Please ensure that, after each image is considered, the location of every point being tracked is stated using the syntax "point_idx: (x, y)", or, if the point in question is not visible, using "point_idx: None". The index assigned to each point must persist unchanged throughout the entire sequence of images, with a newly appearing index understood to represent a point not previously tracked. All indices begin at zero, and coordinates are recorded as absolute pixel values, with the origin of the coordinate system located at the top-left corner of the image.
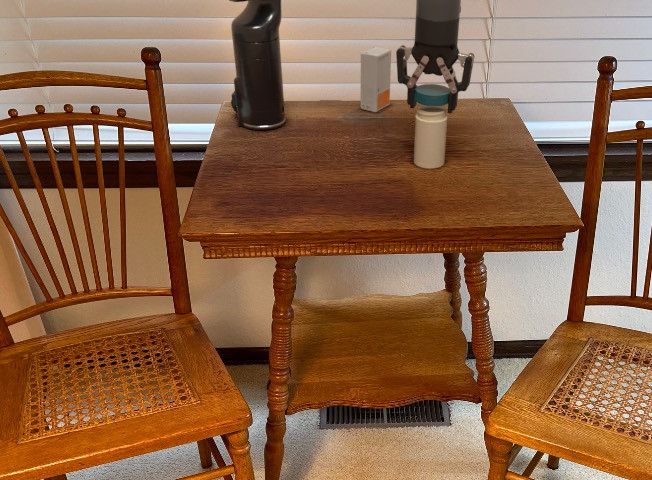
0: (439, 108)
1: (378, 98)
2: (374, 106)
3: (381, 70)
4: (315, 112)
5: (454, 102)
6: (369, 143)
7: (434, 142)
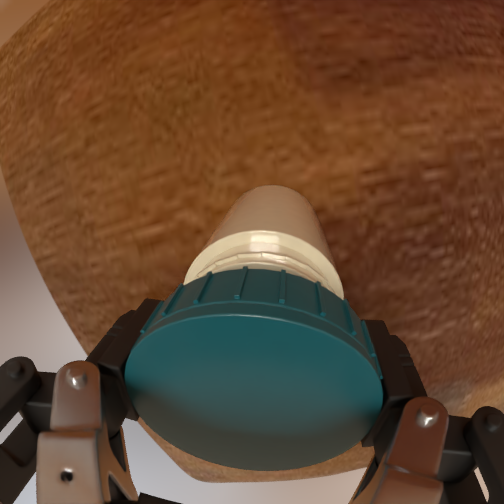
0: None
1: None
2: None
3: None
4: (497, 396)
5: (114, 337)
6: (437, 310)
7: (240, 209)
